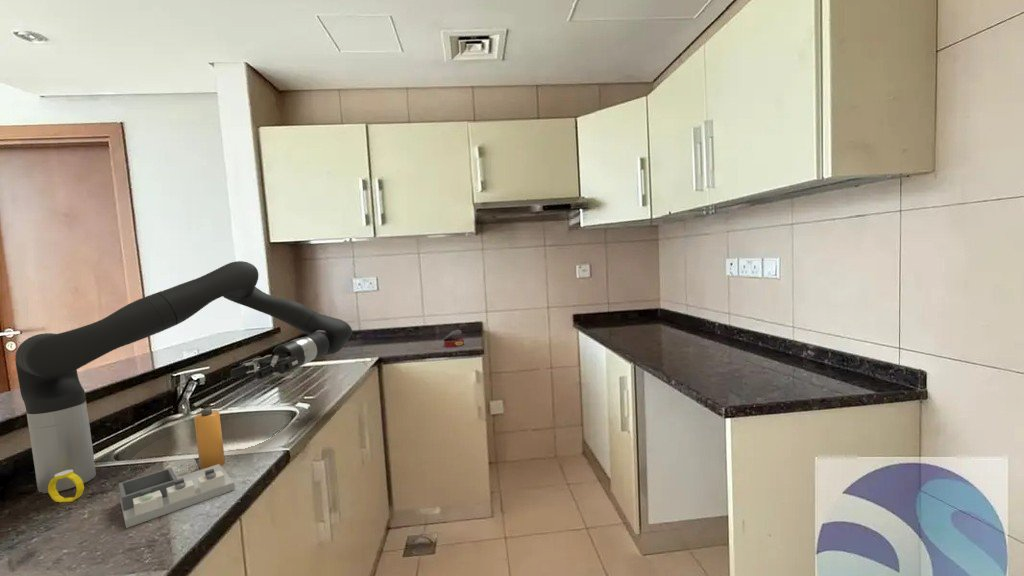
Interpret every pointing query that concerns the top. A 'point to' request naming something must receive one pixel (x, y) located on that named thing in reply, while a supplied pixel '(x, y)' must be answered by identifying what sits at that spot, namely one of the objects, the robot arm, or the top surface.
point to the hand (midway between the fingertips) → (244, 375)
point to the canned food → (453, 339)
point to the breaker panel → (183, 502)
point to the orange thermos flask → (209, 438)
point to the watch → (70, 475)
